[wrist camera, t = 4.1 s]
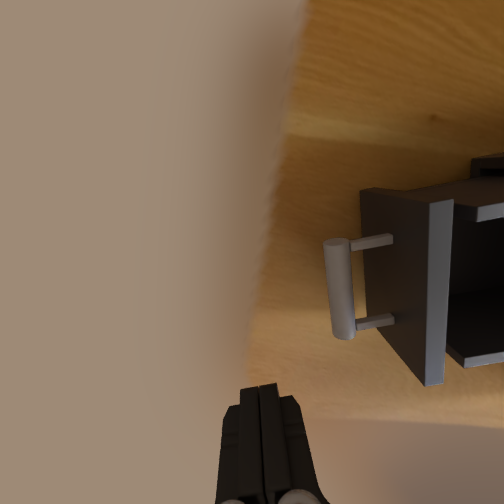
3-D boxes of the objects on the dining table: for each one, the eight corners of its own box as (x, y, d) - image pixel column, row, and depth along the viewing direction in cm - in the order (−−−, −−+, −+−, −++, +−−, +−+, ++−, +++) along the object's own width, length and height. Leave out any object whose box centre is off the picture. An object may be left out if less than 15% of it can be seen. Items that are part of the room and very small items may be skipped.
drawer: (319, 325, 23) (354, 398, 16) (303, 201, 20) (339, 220, 12) (518, 289, 22) (653, 349, 15) (539, 154, 19) (728, 145, 12)
